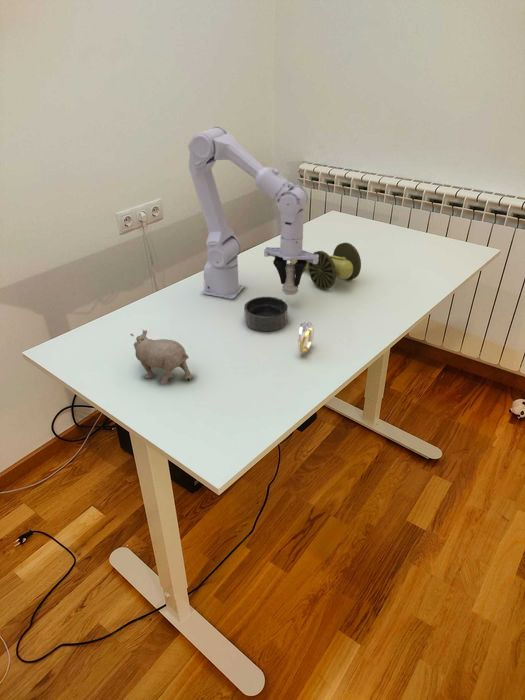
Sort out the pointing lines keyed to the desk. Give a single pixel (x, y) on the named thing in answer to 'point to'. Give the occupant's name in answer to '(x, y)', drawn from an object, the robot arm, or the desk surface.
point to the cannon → (334, 266)
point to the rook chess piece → (290, 280)
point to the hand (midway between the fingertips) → (290, 283)
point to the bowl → (265, 313)
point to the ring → (311, 333)
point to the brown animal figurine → (161, 356)
